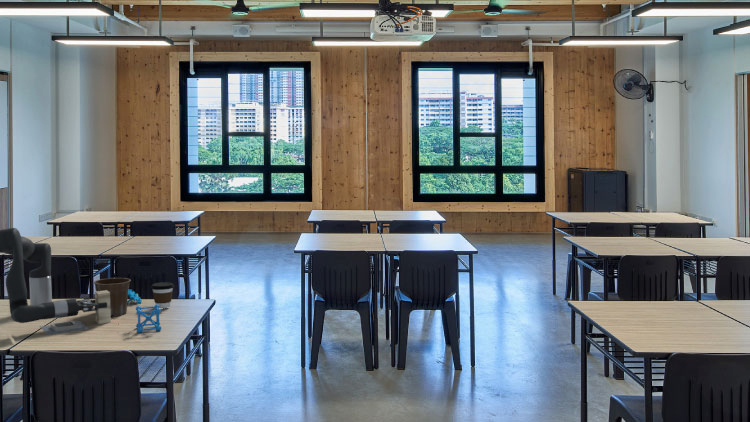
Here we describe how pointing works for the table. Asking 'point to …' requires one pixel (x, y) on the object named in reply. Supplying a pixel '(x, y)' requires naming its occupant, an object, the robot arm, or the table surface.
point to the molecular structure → (148, 318)
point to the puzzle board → (64, 327)
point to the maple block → (103, 313)
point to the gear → (133, 297)
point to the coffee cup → (162, 293)
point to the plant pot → (115, 293)
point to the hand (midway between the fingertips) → (104, 303)
